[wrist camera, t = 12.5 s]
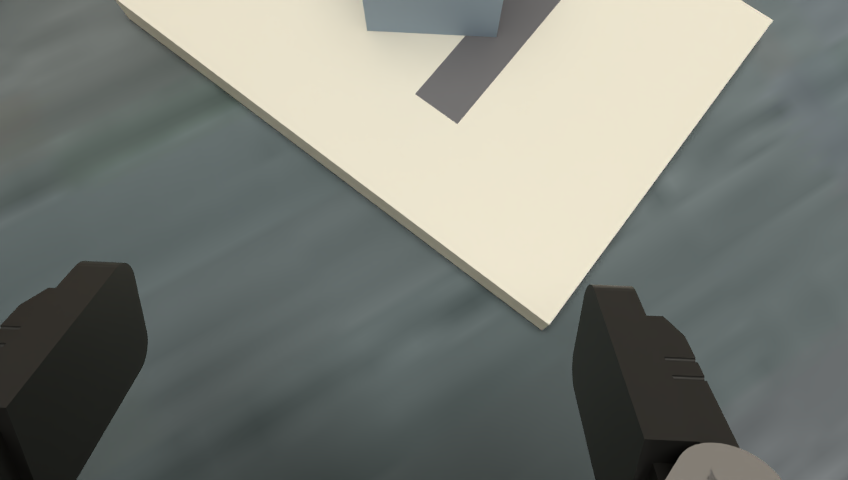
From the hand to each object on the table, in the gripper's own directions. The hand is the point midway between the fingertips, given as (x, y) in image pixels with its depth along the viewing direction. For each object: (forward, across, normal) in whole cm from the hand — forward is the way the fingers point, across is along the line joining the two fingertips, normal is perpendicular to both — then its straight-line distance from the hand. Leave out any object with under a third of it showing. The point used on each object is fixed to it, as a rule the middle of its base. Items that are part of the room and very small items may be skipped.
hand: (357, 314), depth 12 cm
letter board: (+18, -1, -1) cm, 19 cm away
